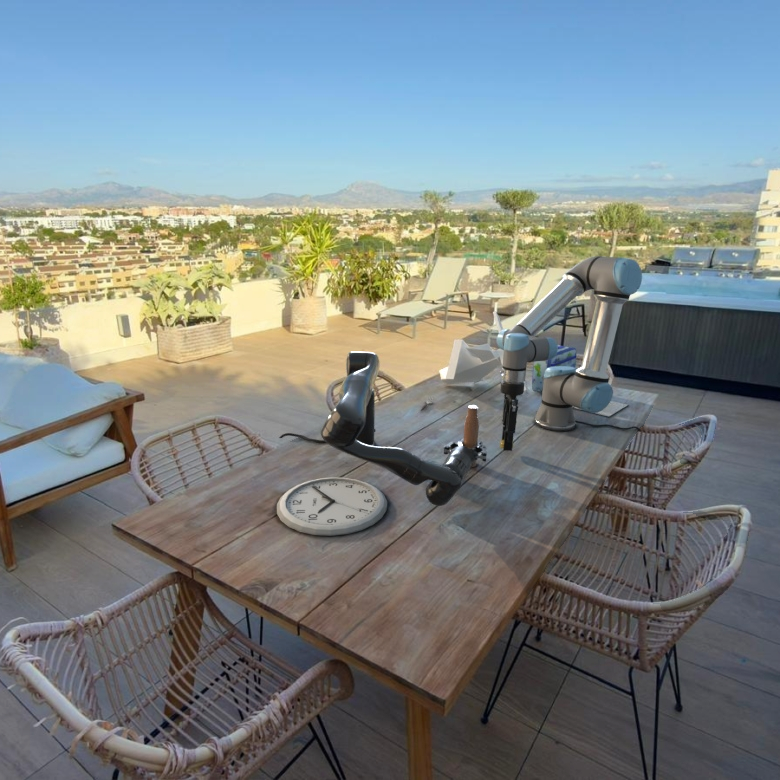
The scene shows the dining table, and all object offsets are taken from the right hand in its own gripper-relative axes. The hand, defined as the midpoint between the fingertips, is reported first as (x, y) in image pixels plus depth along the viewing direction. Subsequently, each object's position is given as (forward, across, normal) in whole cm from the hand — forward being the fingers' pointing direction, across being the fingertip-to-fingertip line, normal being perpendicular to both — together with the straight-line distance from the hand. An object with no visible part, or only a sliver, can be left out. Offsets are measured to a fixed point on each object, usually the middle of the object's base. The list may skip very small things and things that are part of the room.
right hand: (506, 447), depth 177 cm
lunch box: (+2, -76, +33) cm, 82 cm away
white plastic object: (+2, -68, -2) cm, 68 cm away
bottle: (+2, +10, -13) cm, 17 cm away
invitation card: (+2, -54, +49) cm, 72 cm away
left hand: (-4, +8, -13) cm, 15 cm away
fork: (+2, -46, -27) cm, 53 cm away
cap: (-2, 0, 0) cm, 2 cm away
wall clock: (+3, +40, -53) cm, 66 cm away
